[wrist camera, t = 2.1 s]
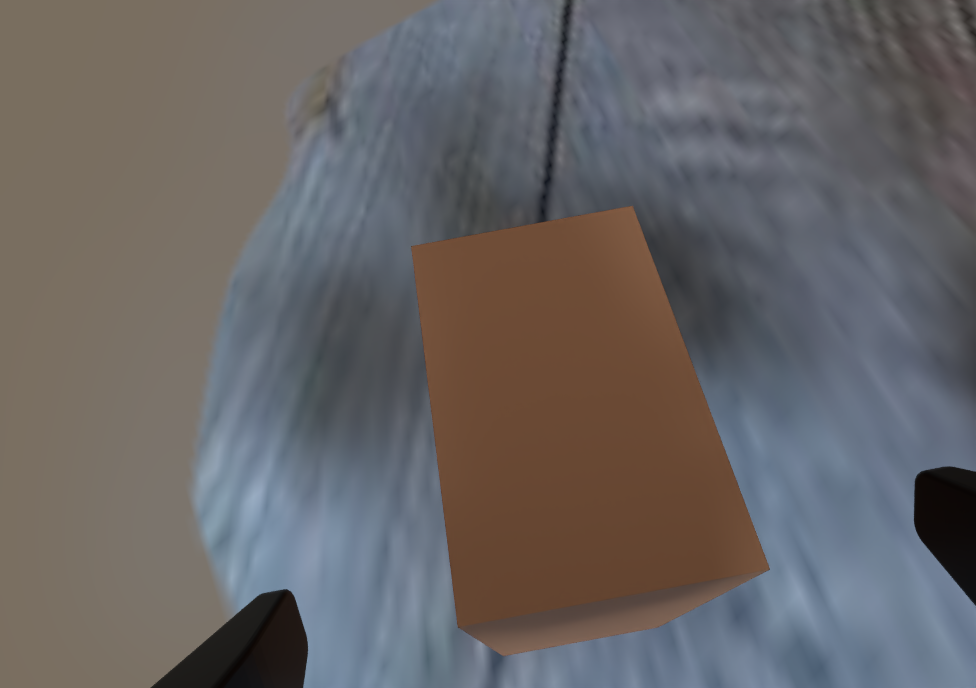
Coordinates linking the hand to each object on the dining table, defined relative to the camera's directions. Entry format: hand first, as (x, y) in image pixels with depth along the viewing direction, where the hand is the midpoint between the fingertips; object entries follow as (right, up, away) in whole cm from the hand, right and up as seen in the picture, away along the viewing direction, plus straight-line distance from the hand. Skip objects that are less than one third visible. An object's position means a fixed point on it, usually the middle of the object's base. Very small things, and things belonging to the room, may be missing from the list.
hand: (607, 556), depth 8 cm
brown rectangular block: (0, -3, +10) cm, 11 cm away
